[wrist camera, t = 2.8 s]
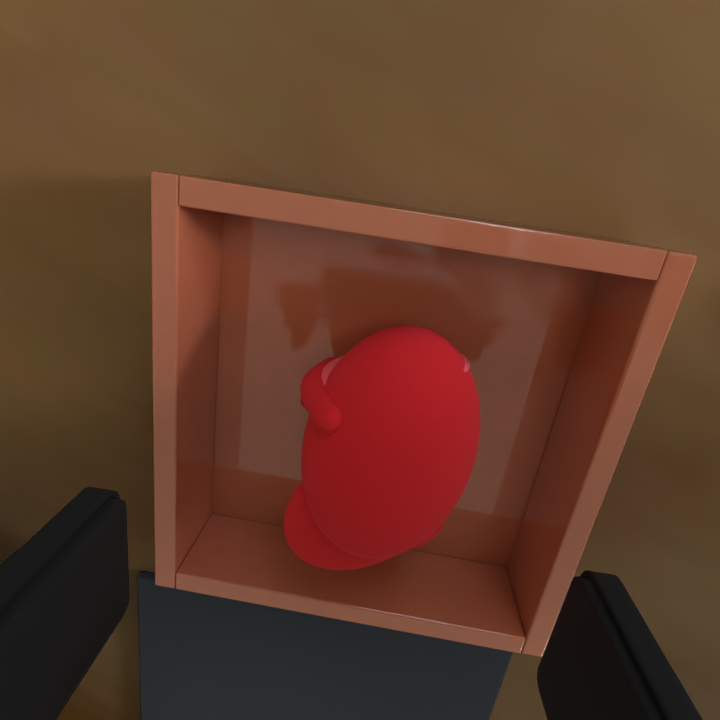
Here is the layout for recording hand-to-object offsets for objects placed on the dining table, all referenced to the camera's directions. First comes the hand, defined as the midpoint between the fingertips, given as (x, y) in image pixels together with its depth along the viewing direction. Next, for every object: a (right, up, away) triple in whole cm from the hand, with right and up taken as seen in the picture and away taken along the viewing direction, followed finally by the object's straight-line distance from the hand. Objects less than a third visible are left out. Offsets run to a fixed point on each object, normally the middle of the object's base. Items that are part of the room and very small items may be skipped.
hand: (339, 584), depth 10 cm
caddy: (+1, +3, +9) cm, 9 cm away
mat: (-2, -13, +15) cm, 20 cm away
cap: (+1, +3, +9) cm, 9 cm away
